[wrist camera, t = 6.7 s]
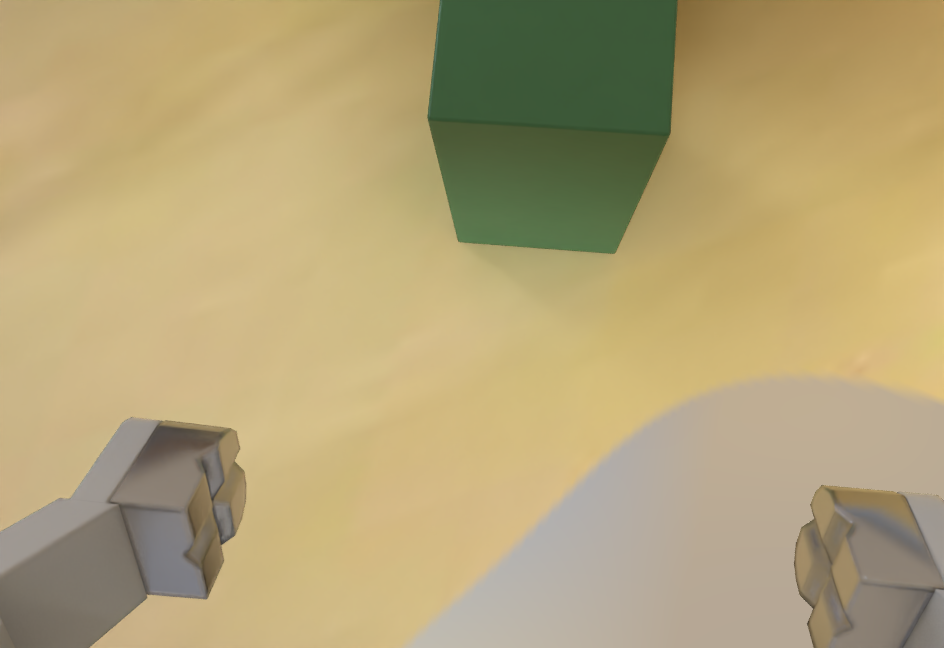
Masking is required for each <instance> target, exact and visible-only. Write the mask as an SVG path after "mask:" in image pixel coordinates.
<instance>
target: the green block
mask: <svg viewBox="0 0 944 648" xmlns="http://www.w3.org/2000/svg"><path fill="white" fill-rule="evenodd" d="M676 19H677V0H440V4H439V14H438V23H437V33H436V42H435V51H434V61H433V70H432V79H431V89H430V98H429V107H428V117H427V118H428V122H429V126H430V130H431V134H432V138H433V142H434V146H435V150H436V154H437V158H438V162H439V166H440V170H441V174H442V178H443V182H444V186H445V190H446V194H447V198H448V202H449V206H450V210H451V214H452V218H453V222H454V226H455V230H456V234H457V238H458V241H459V242H465V243H478V244H491V245H505V246H518V247H532V248H545V249H558V250H572V251H585V252H599V253H612V254H613V253H615V252H616V250H617V248H618V246H619V244H620V241H621V239H622V237H623V235H624V233H625V230H626V228H627V226H628V224H629V222H630V220H631V217H632V215H633V213H634V211H635V209H636V207H637V204H638V202H639V200H640V198H641V196H642V194H643V191H644V189H645V187H646V185H647V183H648V181H649V178H650V176H651V174H652V172H653V170H654V168H655V165H656V163H657V161H658V159H659V157H660V155H661V152H662V150H663V148H664V146H665V144H666V142H667V139H668V137H669V135H670V132H671V113H672V94H673V75H674V56H675V38H676Z"/></svg>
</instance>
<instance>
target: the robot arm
mask: <svg viewBox="0 0 944 648" xmlns="http://www.w3.org/2000/svg"><path fill="white" fill-rule="evenodd" d="M239 450H240V445H239V441H238V436H237V432H236V431H235V430H233V429H231V428H224V427H216V426H208V425H199V424H191V423H183V422H175V421H167V420H165V421H160V420H152V419H144V418H136V417H131V418H129V419H127V420H126V421H124V422H123V423H122V424H121V425H120V426H119V428H118V429H117V431H116V432H115V433H114V435H113V436H112V438H111V439H110V441H109V442H108V444H107V445H106V447H105V448H104V450H103V451H102V452H101V454H100V455H99V457H98V458H97V460H96V461H95V463H94V464H93V466H92V467H91V469H90V470H89V471H88V473H87V474H86V476H85V477H84V479H83V480H82V482H81V483H80V485H79V486H78V488H77V489H76V490H75V492H74V493H73V495H72V496H71V498H70V499H64V498H59V499H57V500H55V501H54V502H52V503H50V504H48V505H46V506H45V507H43V508H41V509H39V510H38V511H36V512H34V513H32V514H31V515H29V516H27V517H25V518H24V519H22V520H20V521H18V522H17V523H15V524H13V525H11V526H10V527H8V528H6V529H4V530H3V531H1V532H0V648H89V647H90V646H92V645H93V644H94V643H95V642H96V641H97V640H99V639H100V638H101V637H102V636H103V635H104V634H106V633H107V632H108V631H109V630H110V629H112V628H113V627H114V626H115V625H116V624H117V623H119V622H120V621H121V620H122V619H123V618H124V617H126V616H127V615H128V614H129V613H130V612H131V611H133V610H134V609H135V608H136V607H137V606H138V605H140V604H141V603H142V602H143V601H144V600H145V599H147V594H148V595H160V596H172V597H184V598H196V599H207V598H208V596H209V594H210V591H211V589H212V587H213V585H214V582H215V580H216V578H217V576H218V573H219V571H220V569H221V567H222V564H223V562H224V557H223V553H222V548H221V545H222V544H224V543H225V542H226V541H228V540H229V539H231V538H232V537H233V536H235V534H236V532H237V530H238V527H239V525H240V522H241V520H242V516H243V511H244V507H245V502H246V479H245V473H244V470H243V469H242V468H241V467H240V466H239V465H238V464H237V463H236V462H235V459H236V456H237V454H238V452H239ZM810 505H811V509H812V512H813V516H814V520H812V521H810V522H809V523H807V524H806V525H804V526H803V527H802V528H801V531H800V533H799V536H798V539H797V542H796V548H795V561H794V566H795V575H796V582H797V586H798V589H799V594H800V596H801V597H802V598H803V599H804V600H805V601H806V602H807V603H808V604H809V605H810V606H811V607H812V608H813V611H812V614H811V616H810V618H809V621H808V623H807V625H808V628H809V632H810V636H811V639H812V643H813V647H814V648H944V500H943V499H942V498H940V497H939V496H938V495H931V494H919V493H908V492H897V493H896V492H893V491H882V490H871V489H859V488H848V487H837V486H826V485H825V486H824V485H822V486H821V487H820V488H819V489H818V490H817V491H816V492H815V494H814V497H813V499H812V502H811V504H810Z"/></svg>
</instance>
